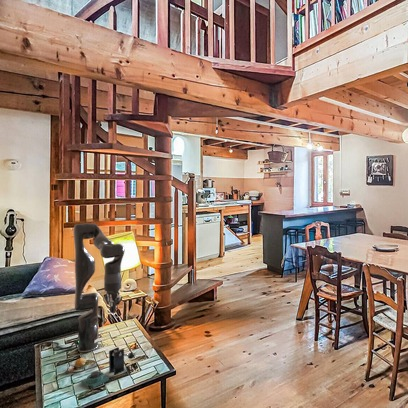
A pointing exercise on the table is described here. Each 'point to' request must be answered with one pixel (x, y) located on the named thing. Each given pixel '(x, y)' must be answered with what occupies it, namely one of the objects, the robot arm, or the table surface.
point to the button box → (95, 380)
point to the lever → (130, 355)
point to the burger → (80, 365)
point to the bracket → (116, 361)
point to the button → (95, 374)
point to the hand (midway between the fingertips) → (113, 312)
